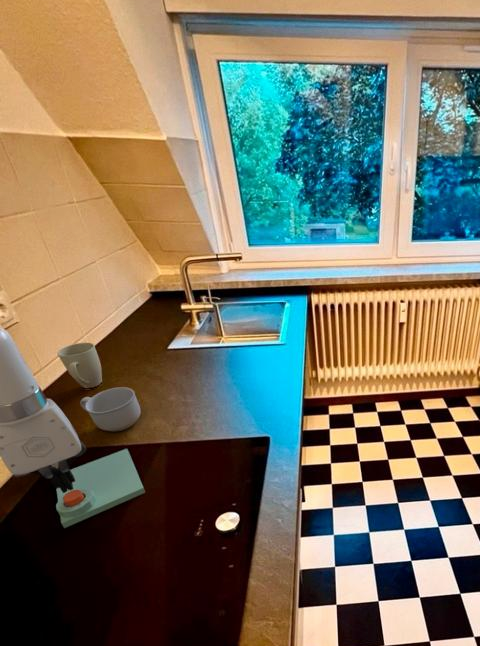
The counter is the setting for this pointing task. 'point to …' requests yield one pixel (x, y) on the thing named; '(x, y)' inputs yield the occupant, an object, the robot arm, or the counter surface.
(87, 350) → the mug
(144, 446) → the counter surface
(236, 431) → the counter surface
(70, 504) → the tare button
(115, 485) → the scale
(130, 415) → the teacup
